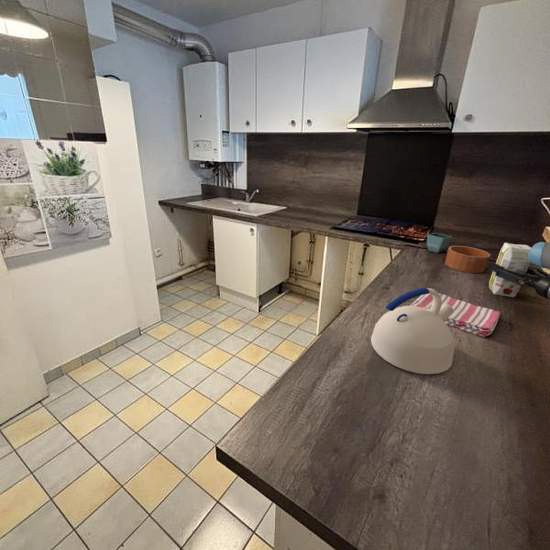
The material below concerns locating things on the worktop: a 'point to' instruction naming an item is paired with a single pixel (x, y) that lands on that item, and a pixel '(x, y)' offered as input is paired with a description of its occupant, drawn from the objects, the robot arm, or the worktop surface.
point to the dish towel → (464, 314)
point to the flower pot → (437, 242)
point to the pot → (467, 259)
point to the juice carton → (510, 268)
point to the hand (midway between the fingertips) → (500, 264)
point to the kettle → (415, 335)
